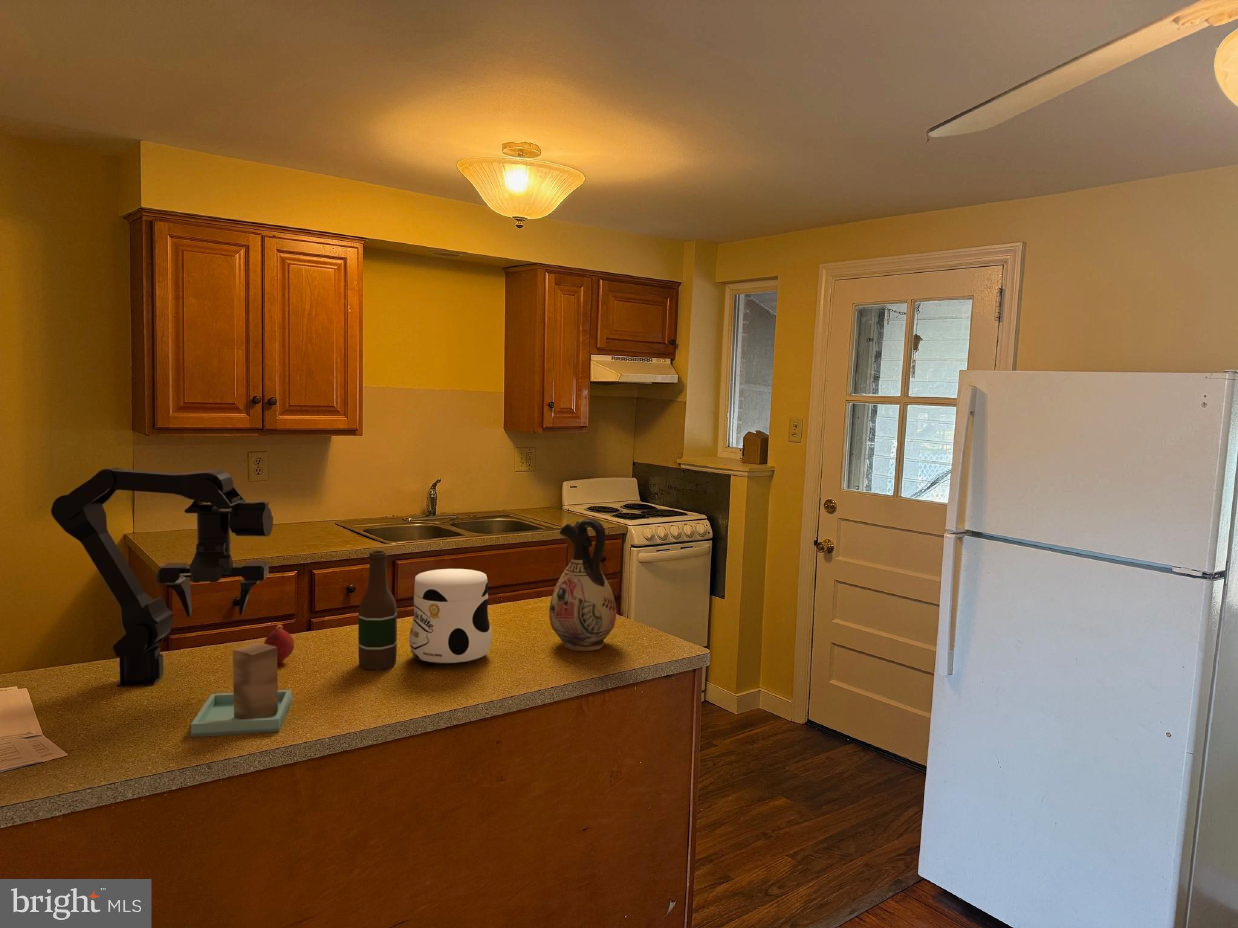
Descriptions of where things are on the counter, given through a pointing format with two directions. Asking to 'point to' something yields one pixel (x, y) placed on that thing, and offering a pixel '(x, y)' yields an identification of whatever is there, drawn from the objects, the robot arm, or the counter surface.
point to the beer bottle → (377, 619)
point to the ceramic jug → (583, 593)
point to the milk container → (450, 617)
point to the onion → (281, 643)
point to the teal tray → (221, 718)
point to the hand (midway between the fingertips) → (215, 615)
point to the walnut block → (255, 681)
